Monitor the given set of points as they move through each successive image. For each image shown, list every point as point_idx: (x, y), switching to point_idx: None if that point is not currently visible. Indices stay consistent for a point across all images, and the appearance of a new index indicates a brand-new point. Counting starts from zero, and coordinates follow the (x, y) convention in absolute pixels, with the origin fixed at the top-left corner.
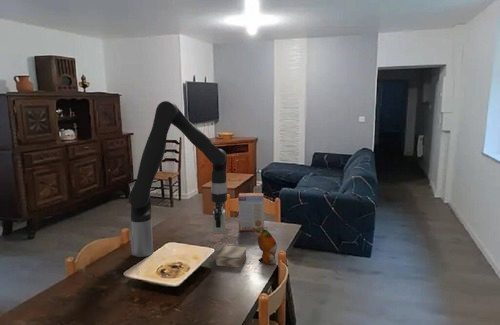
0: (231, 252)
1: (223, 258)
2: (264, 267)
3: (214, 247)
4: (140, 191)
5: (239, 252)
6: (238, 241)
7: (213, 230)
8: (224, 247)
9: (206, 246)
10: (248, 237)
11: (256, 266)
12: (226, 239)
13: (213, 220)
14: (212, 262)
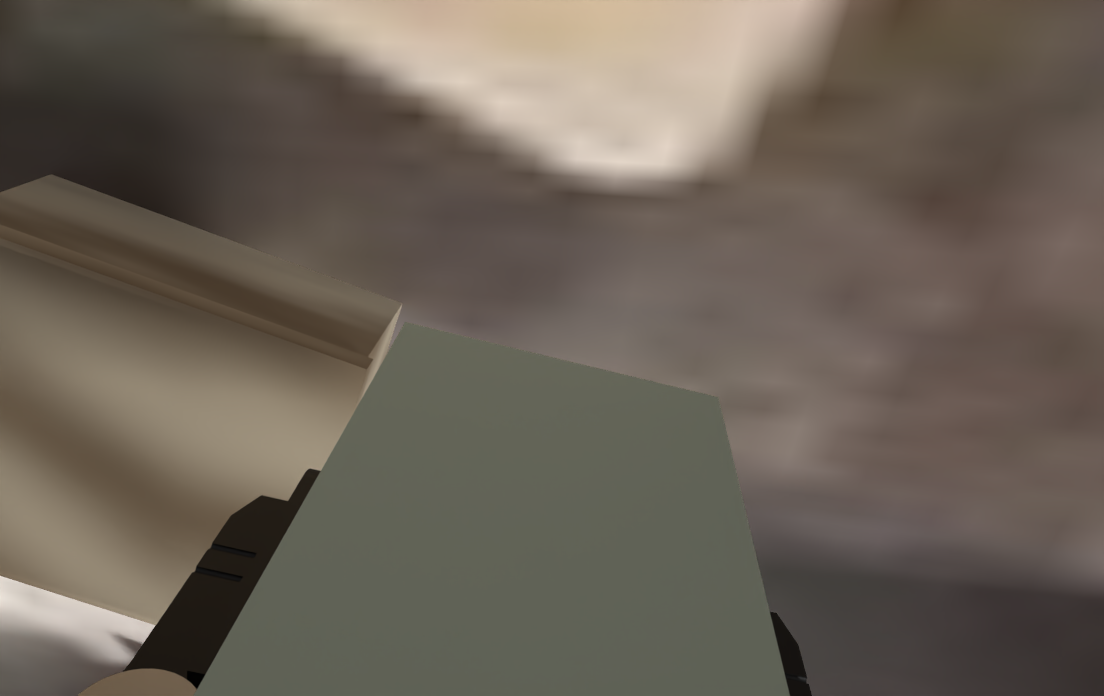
0: (78, 462)
1: None
2: (60, 669)
3: (735, 185)
4: None
5: (90, 561)
6: (863, 552)
7: (400, 330)
8: (280, 384)
9: (827, 35)
10: (961, 681)
11: (74, 610)
12: (1022, 406)
13: (278, 558)
14: (142, 116)
